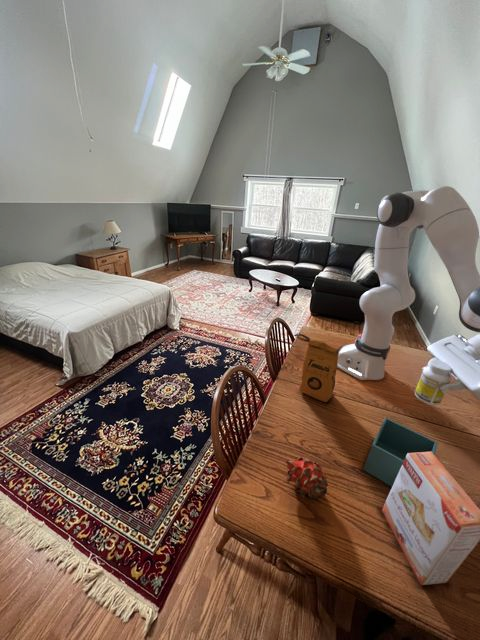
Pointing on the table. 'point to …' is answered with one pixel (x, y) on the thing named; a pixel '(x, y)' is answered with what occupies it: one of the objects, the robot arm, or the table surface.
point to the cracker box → (431, 518)
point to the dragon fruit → (307, 477)
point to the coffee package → (319, 370)
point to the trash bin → (394, 450)
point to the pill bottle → (433, 382)
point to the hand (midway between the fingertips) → (432, 380)
